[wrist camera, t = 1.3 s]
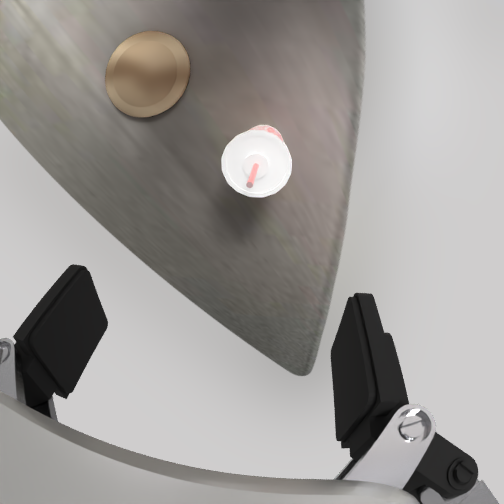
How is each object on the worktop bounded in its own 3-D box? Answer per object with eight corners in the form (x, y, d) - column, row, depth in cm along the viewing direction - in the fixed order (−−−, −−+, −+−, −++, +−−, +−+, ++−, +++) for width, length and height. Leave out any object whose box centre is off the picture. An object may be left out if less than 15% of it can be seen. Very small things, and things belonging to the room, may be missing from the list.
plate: (108, 41, 25) (104, 40, 24) (191, 25, 24) (188, 24, 24) (110, 120, 31) (106, 121, 30) (190, 113, 30) (188, 114, 30)
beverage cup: (295, 125, 30) (303, 154, 18) (283, 174, 33) (282, 231, 22) (242, 113, 30) (213, 134, 18) (232, 163, 33) (202, 214, 22)
